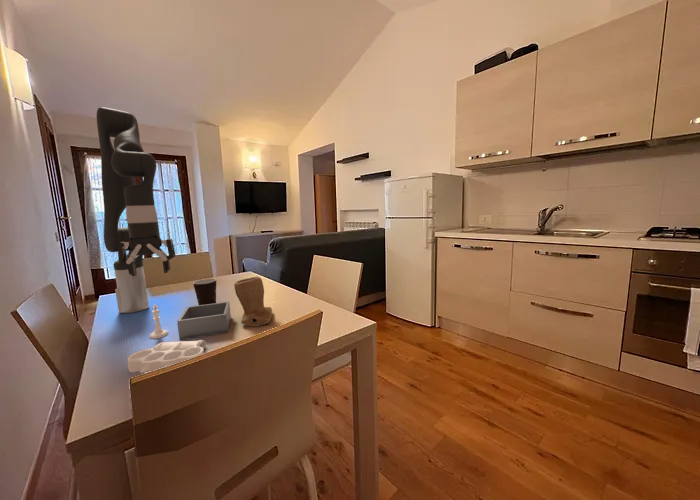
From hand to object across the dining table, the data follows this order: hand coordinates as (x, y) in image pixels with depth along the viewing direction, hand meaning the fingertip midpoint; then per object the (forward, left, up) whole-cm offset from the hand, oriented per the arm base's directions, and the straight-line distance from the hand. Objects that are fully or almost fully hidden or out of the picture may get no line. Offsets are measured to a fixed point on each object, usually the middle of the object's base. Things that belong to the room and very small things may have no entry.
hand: (150, 274), depth 90 cm
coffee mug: (+11, +28, -20) cm, 36 cm away
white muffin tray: (+8, -20, -20) cm, 30 cm away
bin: (+14, 0, -20) cm, 24 cm away
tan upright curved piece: (+29, +1, -20) cm, 35 cm away
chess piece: (0, 0, -20) cm, 20 cm away
